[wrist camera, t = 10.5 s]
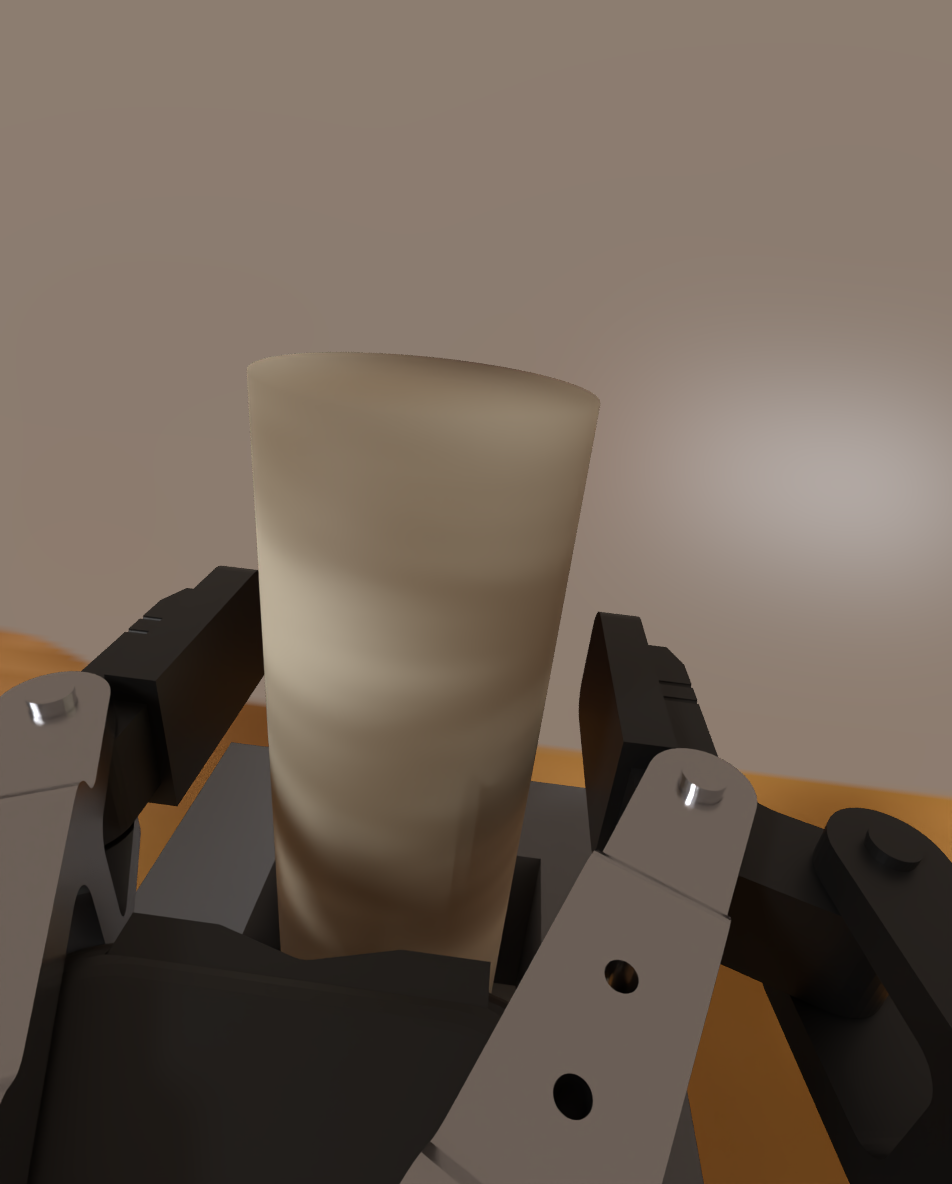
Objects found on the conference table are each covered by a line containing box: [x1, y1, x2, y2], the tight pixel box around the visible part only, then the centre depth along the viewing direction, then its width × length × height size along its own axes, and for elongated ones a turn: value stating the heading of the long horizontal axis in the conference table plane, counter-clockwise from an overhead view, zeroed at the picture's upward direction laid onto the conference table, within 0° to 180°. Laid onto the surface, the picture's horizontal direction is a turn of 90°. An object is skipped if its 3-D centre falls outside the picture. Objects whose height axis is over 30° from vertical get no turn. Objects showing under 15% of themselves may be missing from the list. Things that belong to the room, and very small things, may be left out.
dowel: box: [247, 352, 600, 993], centre depth 11 cm, size 4×4×16 cm
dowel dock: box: [134, 742, 704, 1184], centre depth 14 cm, size 14×16×6 cm
